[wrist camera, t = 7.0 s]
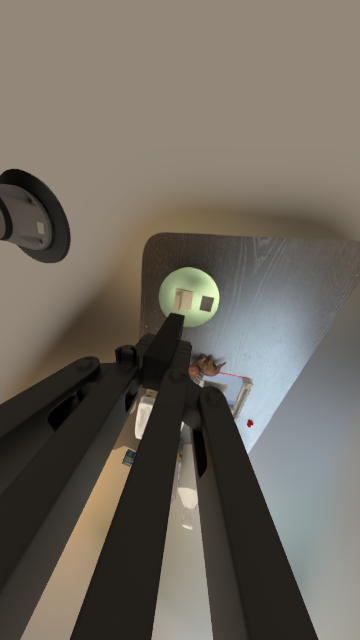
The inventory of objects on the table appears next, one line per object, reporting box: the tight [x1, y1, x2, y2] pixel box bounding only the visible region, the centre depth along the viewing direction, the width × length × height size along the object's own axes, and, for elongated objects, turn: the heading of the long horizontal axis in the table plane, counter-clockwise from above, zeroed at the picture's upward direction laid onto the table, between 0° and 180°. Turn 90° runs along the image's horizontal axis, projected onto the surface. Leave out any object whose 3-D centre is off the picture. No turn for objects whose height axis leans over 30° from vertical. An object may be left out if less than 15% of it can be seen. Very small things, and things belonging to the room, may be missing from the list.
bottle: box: [177, 444, 198, 529], centre depth 65 cm, size 12×12×25 cm
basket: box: [135, 389, 184, 439], centre depth 52 cm, size 24×16×15 cm
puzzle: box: [122, 449, 136, 466], centre depth 91 cm, size 6×6×6 cm
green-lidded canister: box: [159, 265, 220, 327], centre depth 29 cm, size 10×10×16 cm
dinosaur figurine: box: [189, 354, 226, 382], centre depth 43 cm, size 14×6×9 cm, turn 90°
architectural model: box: [199, 373, 253, 422], centre depth 56 cm, size 18×45×6 cm, turn 175°
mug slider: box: [173, 289, 194, 313], centre depth 21 cm, size 3×3×3 cm
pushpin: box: [247, 420, 253, 427], centre depth 56 cm, size 4×2×2 cm, turn 173°
